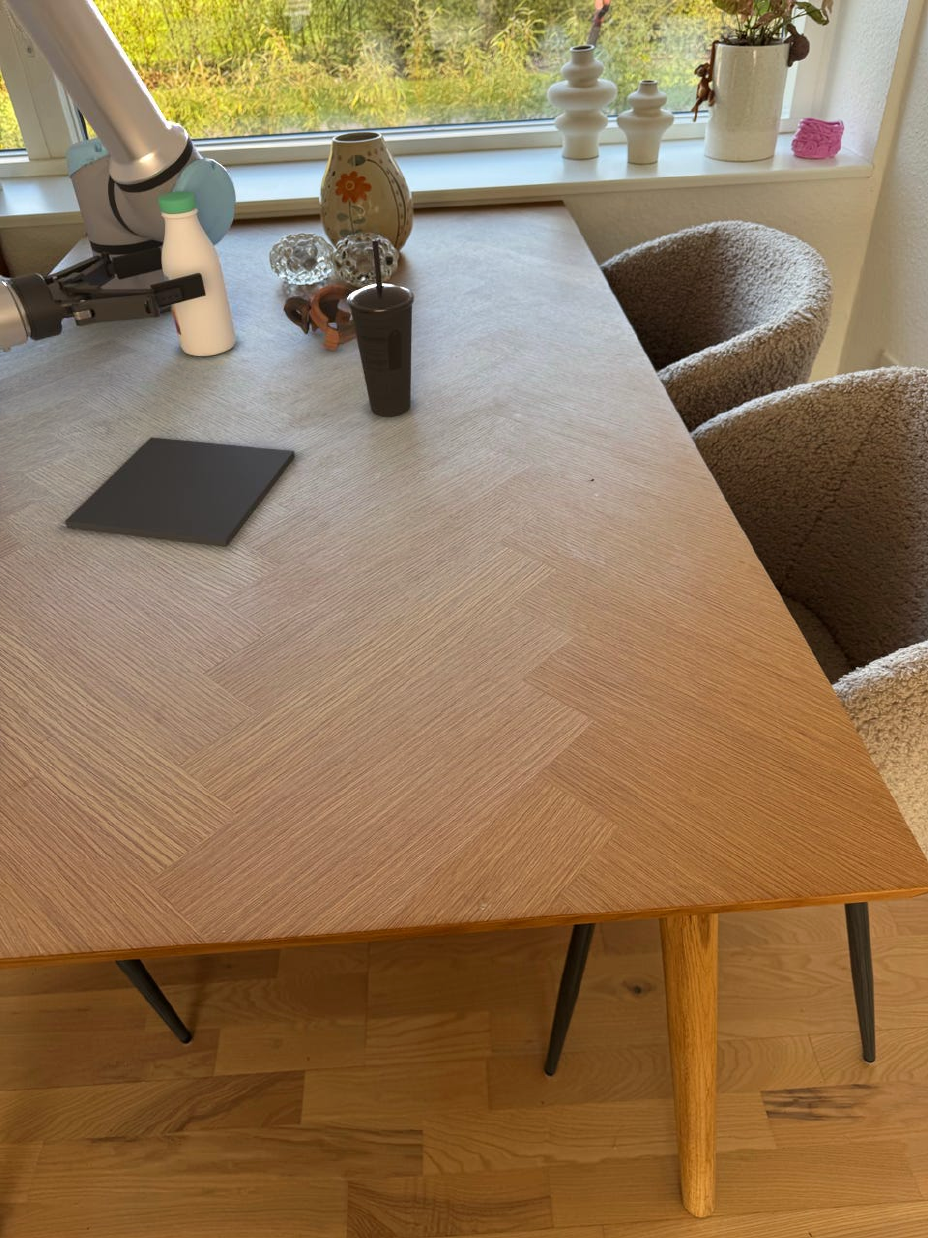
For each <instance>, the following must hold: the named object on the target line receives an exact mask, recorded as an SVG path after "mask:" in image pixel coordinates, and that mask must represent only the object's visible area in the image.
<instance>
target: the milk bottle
mask: <svg viewBox="0 0 928 1238" xmlns="http://www.w3.org/2000/svg"><path fill="white" fill-rule="evenodd" d="M158 202H159V207H160V210H161V212H162V214H161V215H162V216H163V217H164V219H165V237H164V243H163V248H162V269H163V274H164V279H165V281H169V280H172V279H176V278H180V277H184V276H188V275H192V274H196V273H200V274H201V275H202V280H203V284H204V289H205V293H206V296H202V297H198V298H195V299H191V300H187V301H183V302H180V303H176V304H172V305H171V309H170V310H171V313H172V317H173V321H174V325H175V329H176V333H177V337H178V341H179V346H180V348H181V350H182V351H183V352H184V353H186V354H188V355H189V356H196V357H209V356H215V355H219V354H223V353H225V352H227V351H229V350H231V349H232V348H233V347H234V346H236V342H237V336H236V331H235V330H236V329H235V325H234V319H233V315H232V310H231V305H230V300H229V296H228V295H229V294H228V291H227V286H226V281H225V277H224V272H223V267H222V264H221V261H220V257H219V254H218V252H217V249H216V248H215V245H214V246H213V244H212V242H211V241H210V239H209V238H208V237H207V235H206V234H205V232H204V230H203V229H202V227H201V225H200V223H199V220H198V218H197V212H198V210H197V204H196V199H195V196H194V194H193V193H190V192H171V193H167V194H164V195H162V196H160V197H159V198H158Z"/></svg>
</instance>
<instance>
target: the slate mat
mask: <svg viewBox="0 0 928 1238" xmlns="http://www.w3.org/2000/svg"><path fill="white" fill-rule="evenodd" d="M295 454H296V453H295V451H294V450H289V449H279V448H278V449H277V448H266V447H255V446H246V445H235V444H227V443H226V444H225V443H214V442H204V441H194V440H193V441H192V440H181V439H172V438H161V437H150V438H148V440H147V441H146V442H145V443H143V445H142V446H141V447H139V448H138V449H137V450H136V451H135V452H134V454H132V455H131V456H130V457H129V458H128V459H127V460H126V461H125V462H124V463H123V464H122V465H121V466H120V467H119V468H117V470H116V471H115V472H114V473H113V474H112V475H111V476H109V478H108V479H106V480H105V482H103V483H102V484H101V485H100V486H99V488H97V489H96V490H95V492H93V493H92V494H91V495H90V496H89V497H88V498H87V499H86V500H85V501H84V502H83V503H82V504H81V505H80V506H79V507H77V509H76V510H75V511H74V512H73V513H71V515H69V517H67V519H66V520H65V521H64V523H65V526H66V528H67V529H68V528H69V529H74V530H75V529H76V530H77V529H78V530H85V531H93V532H102V533H109V534H119V535H127V536H134V537H141V538H143V537H144V538H151V539H160V540H167V541H168V540H169V541H175V542H176V541H177V542H183V543H184V542H186V543H194V544H202V545H209V546H217V547H228V545H229V544H230V543H231V542H232V540H233V539H234V538H235V536H236V535H237V534H238V532H239V531H240V530H241V528H242V527H243V526H244V524H245V523H246V522H247V520H248V519H249V518H250V517H251V516H252V515H253V512H254V511H255V510H256V509H257V507H258V506H260V503H261V502H262V501H263V500H264V498H265V497H266V496H267V494H268V493H269V492H270V491H271V489H272V488H273V486H274V485H275V484H276V483H277V481H278V480H279V479H280V477H281V476H282V475H283V473H284V472H285V471H286V470H287V468H288V467H289V466H290V465H291V463H292V462H293V460H294V459H295V458H296V455H295Z"/></svg>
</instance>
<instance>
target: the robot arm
mask: <svg viewBox="0 0 928 1238" xmlns="http://www.w3.org/2000/svg"><path fill="white" fill-rule="evenodd" d="M2 1H3V2H4V5H6V7H7V8H8V9H9V11H10V13H11V14H12V15H13V17H14V18H15V19H16V21H17V23H18V24H19V25H20V27H21V28H22V30H23V31H24V32H25V34H26V35H27V37H28V38H29V40H30V41H31V43H32V44H33V45H34V47H35V48H36V50H37V51H38V53H39V54H40V56H41V57H42V59H43V60H44V62H45V63H46V64H47V66H48V67H49V69H50V70H51V71H52V73H53V75H54V76H55V77H56V79H57V81H58V82H59V83H60V85H61V87H62V88H63V89H64V90H65V92H66V94H67V95H68V96H69V98H70V99H71V100H72V102H73V103H74V105H75V106H76V107H77V109H78V111H79V112H80V114H81V115H82V116H83V118H84V119H85V121H86V122H87V124H88V125H89V126H90V128H91V130H92V131H93V133H94V134H95V135H96V137H93V138H89V139H85V140H81V141H78V142H75V143H73V144H71V145H69V146H68V148H67V149H66V151H65V159H66V165H67V169H68V177H69V179H70V180H71V183H72V187H73V190H74V194H75V197H76V201H77V204H78V207H79V208H78V209H79V211H80V215H81V217H82V221H83V225H84V228H85V232H86V235H87V239H88V241H89V244H90V249H91V252H92V257H89V258H87V259H84V260H82V261H80V262H78V263H75V264H73V265H71V266H69V267H66V268H64V269H61V270H59V271H57V272H54V273H51V274H47V275H43V276H42V275H41V274H40V273H37V272H33V273H28V274H23V275H19V276H16V277H12V278H11V277H10V278H9V280H8V282H7V284H6V282H5V281H4V280H2V279H1V280H0V351H1V350H2V352H4V353H9V352H10V351H11V348H12V347H17V346H21V345H24V344H27V343H28V341H29V338H30V339H31V340H33V341H35V342H38V341H41V340H45V339H48V338H51V337H57V336H59V335H60V334H61V333H63V324H62V321H63V320H64V319H70V318H73V319H74V322H75V325H76V326H77V327H83V326H88V325H92V324H97V323H106V322H107V323H108V322H117V321H129V320H135V319H137V320H138V319H146V318H159V317H160V316H161V313H163V312H167V311H169V310H172V309H171V305H172V304H176V303H180V302H183V301H187V300H191V299H195V298H198V297H202V296H206V293H205V289H204V284H203V280H202V275H201V274H200V273H196V274H192V275H188V276H184V277H180V278H176V279H172V280H169V281H165V279H164V274H163V269H162V248H163V243H164V237H165V219H164V217H163V216H162V215H161V214H162V212H161V210H160V207H159V202H158V198H159V197H160V196H162V195H164V194H167V193H171V192H190V193H193V194H194V196H195V199H196V204H197V210H198V212H197V218H198V220H199V223H200V225H201V227H202V229H203V230H204V232H205V234H206V235H207V237H208V238H209V239H210V241H211V242H212V244H213V246H214V247H215V246H216V245H217V244H219V243H220V242H221V241H222V240H224V238H225V237H226V235H227V234H228V232H229V231H230V229H231V226H232V224H233V221H234V218H235V207H236V205H237V196H236V190H235V185H234V182H233V179H232V177H231V175H230V173H229V172H228V170H227V169H226V168H225V167H224V166H223V165H222V164H221V163H219V162H217V161H216V160H214V159H212V158H209V157H203V156H202V155H201V154H200V152H199V150H198V148H197V147H196V145H195V144H194V142H193V140H192V139H191V137H190V135H189V134H188V133H187V130H186V129H185V128H184V127H183V126H182V125H181V124H180V123H176V122H174V121H173V122H172V121H168V120H166V118H165V116H164V114H163V113H162V112H161V110H160V108H159V106H158V105H157V103H156V102H155V100H154V99H153V97H152V95H151V94H150V92H149V91H148V89H147V87H146V85H145V84H144V82H143V80H142V79H141V77H140V76H139V74H138V72H137V70H136V69H135V67H134V66H133V64H132V62H131V61H130V58H128V56H127V54H126V52H125V51H124V50H123V48H122V46H121V45H120V43H119V42H118V40H117V38H116V36H115V35H114V33H113V31H112V30H111V29H110V27H109V25H108V24H107V23H108V22H106V20H105V19H104V17H103V15H102V14H101V12H100V10H99V9H98V7H97V5H96V4H95V2H94V0H2Z"/></svg>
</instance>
